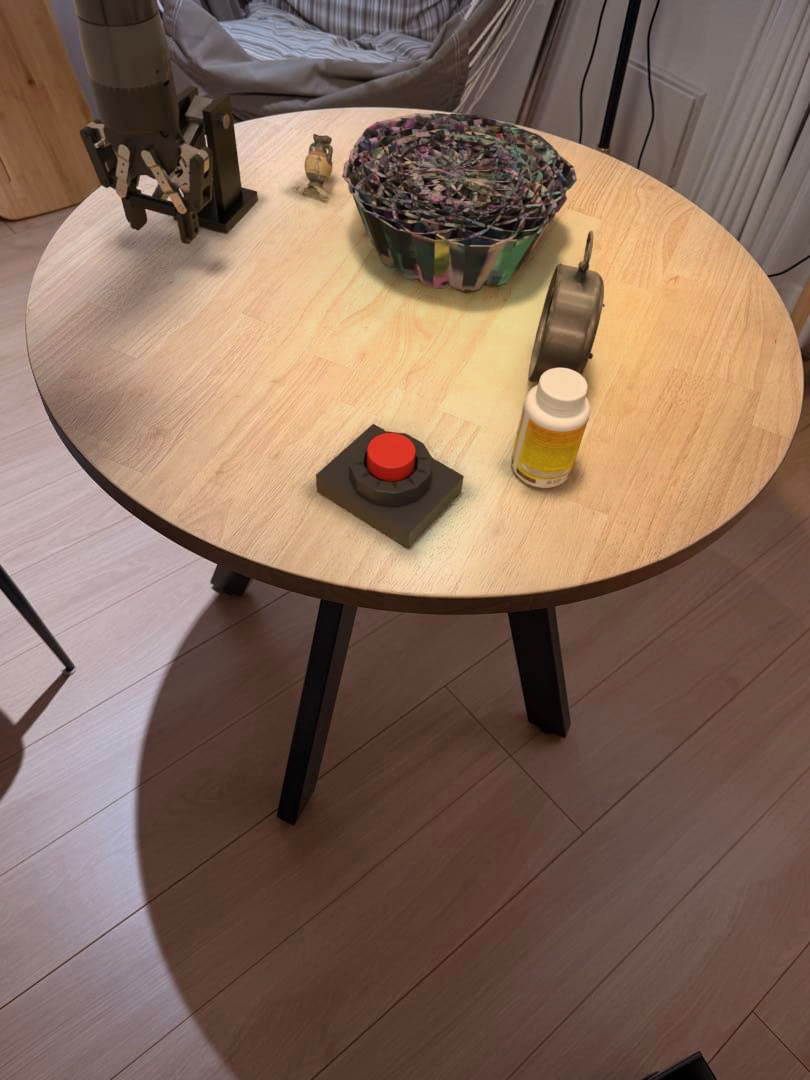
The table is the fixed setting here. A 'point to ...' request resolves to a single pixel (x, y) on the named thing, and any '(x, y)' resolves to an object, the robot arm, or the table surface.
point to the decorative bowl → (455, 196)
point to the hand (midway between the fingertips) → (164, 232)
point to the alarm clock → (568, 318)
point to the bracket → (219, 163)
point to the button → (391, 457)
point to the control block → (390, 489)
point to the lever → (191, 137)
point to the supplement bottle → (551, 428)
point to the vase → (318, 165)
